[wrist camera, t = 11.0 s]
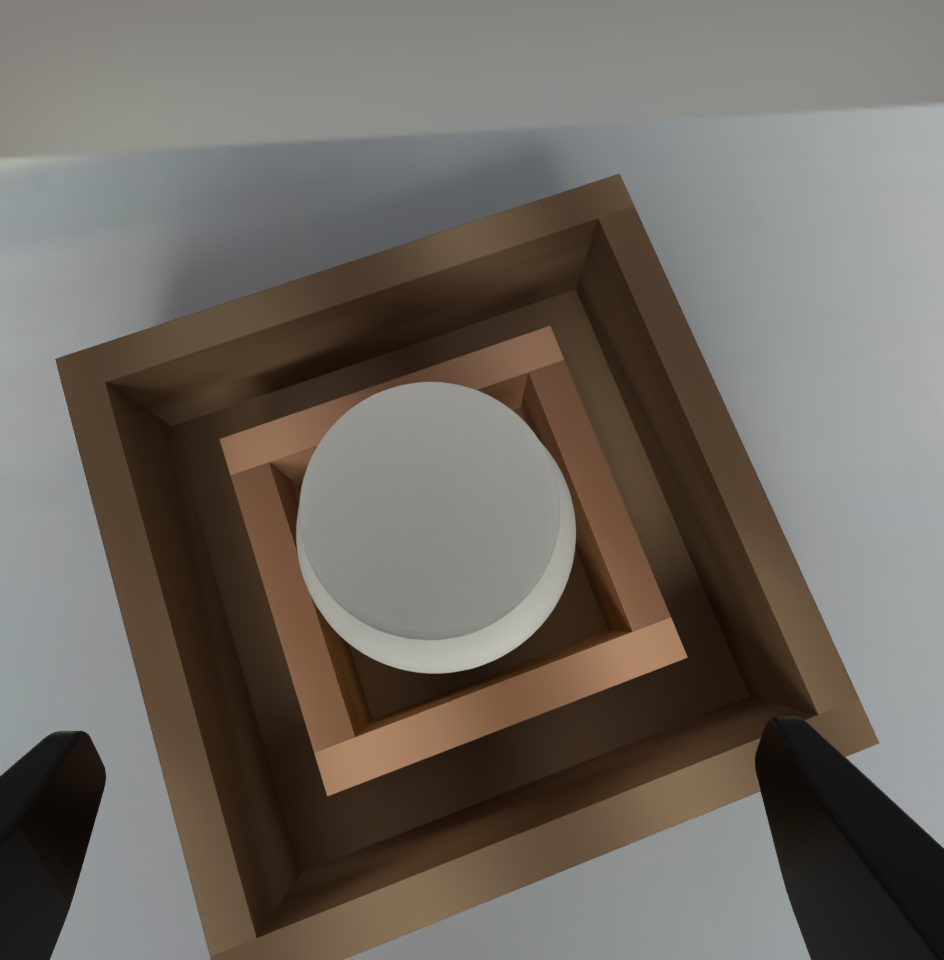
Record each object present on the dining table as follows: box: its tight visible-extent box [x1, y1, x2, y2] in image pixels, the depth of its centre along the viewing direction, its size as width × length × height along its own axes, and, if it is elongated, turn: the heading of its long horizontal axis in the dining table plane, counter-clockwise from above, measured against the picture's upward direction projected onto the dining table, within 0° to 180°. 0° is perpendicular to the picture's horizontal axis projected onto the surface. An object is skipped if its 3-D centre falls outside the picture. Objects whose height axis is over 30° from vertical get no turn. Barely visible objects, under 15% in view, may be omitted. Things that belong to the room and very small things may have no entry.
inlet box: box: [55, 174, 879, 960], centre depth 18 cm, size 15×15×4 cm
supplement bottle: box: [296, 382, 576, 673], centre depth 15 cm, size 5×5×10 cm
